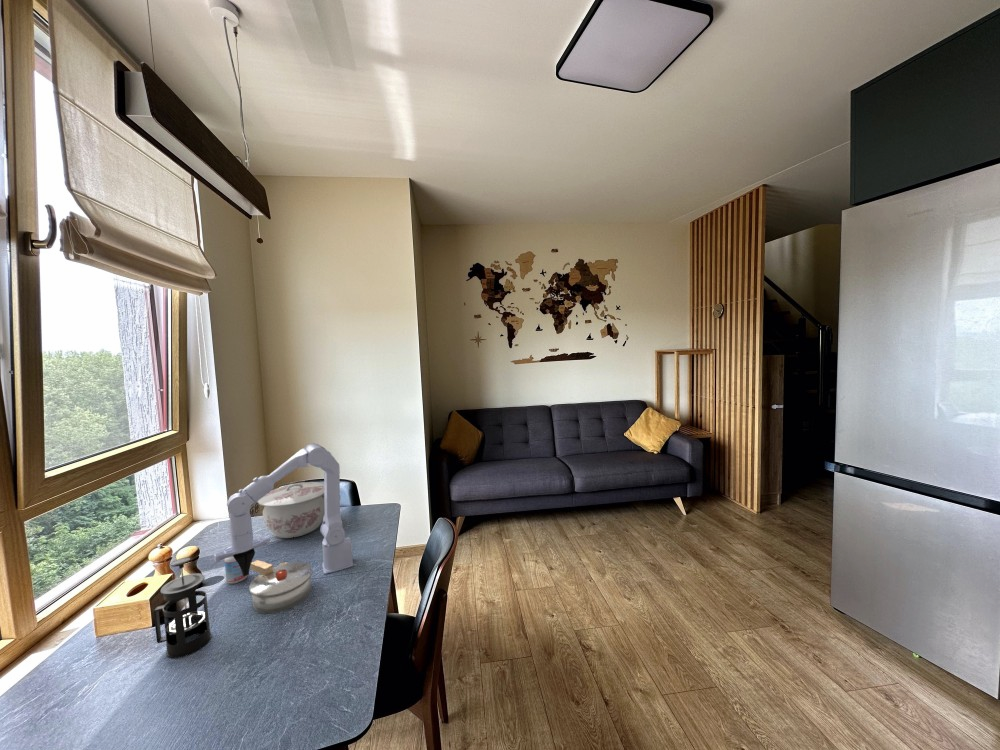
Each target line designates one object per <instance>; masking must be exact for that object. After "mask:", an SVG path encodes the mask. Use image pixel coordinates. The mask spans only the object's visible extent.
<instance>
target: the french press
mask: <svg viewBox="0 0 1000 750" xmlns="http://www.w3.org/2000/svg"><path fill="white" fill-rule="evenodd" d="M191 560H192V557H187V556H186V557H182V558H178V559H175V560H173V561H172V562H171V563H170V567H178V569H180V574H181V576H180V577H176V578H175V579H171V581H169V582H167V583H165V584H164V585H163V586H162V587H161V589H160V593H161V595H163V599H164V601H167V602H166V603H165V604H162V605H159V606H156V607H155V609H154V610H153V618H154V619H153V620H154V627H155V628H154V629H155V636H156V637H155V638H156V643H157V644H160V643H165V642H166V643H165V644H166V652H165V653H166V657H167V658H169V659H180V658H184V657H188V656H191V655H192V654H194V653H196V652H198V651H200V650H202V649H203V648H204V647H205V646H206V645H208V643H210V641H211V640H212V632H211V625H210V618H209V616H210V615H209V607H208V600H207V599H208V598H207V596H208V595H207V592H206V591H204V590H197V589H198V587H199V586H200V585H201V583H203V582H204V581H205V575H204V573H197V572H196V573H189V574H186V575H184V571H183V570H184V569H183V568H184V565H187V564H188V563H189V562H191ZM198 596H200V597H201V596H202V597H203V598H202V599H201V600H200V601H198V602H197V597H198ZM187 599H188V600H187ZM181 600H183V601H184V602H183V603H184V609H180V610H176V611H168V609H169V608H170V607H171V606H172V605H174V604H175V603H177V602H180V601H181ZM186 600H187V601H188V606H187V601H186ZM202 606H203V609H204V610H198V609H199V608H202ZM159 611H162V615H163V621H164V631H165V636H163V637H162V632H161V622H160V614H159V613H160V612H159ZM169 618H170V619H171V618H174V620H172V621H171V622H170V621H169ZM169 622H170V623H169ZM195 635H196V636H197V635H198V636H197V637H195V638H194V639H191V640H188V641H186V638H189V637H192V636H195Z"/></svg>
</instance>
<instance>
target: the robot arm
mask: <svg viewBox="0 0 1000 750" xmlns="http://www.w3.org/2000/svg"><path fill="white" fill-rule="evenodd" d="M309 465H310V466H311V467H312V466H313V467H315V468H318V469H321V470H322V471H323V479H324V480H323V483H324V503H325V515H324V517H323V521H322V522H321V524H320V527H319V528H320V529H319V530H320V534H321V535H322V536H323V539H322V542H321V545H322V546H321V547H322V558H323V562H322V563H321V565H322V571H323V575H327V574H330V573H334V572H337V571H341V570H344V569H348V568H352V567H353V566H354V560H353V557H354V556H353V551H352V549H353V548H352V540H351V537H350V536H348V537H346V531H345V529H344V528H343V521H342V517H341V494H340V493H341V490H340V489H341V485H340V484H341V482H340V481H341V480H340V477H341V476H340V473H341V471H340V468H341V467H340V463H339V462H338V461H337V459H336V458H335V457H334V456H333V454H332V453H331V452H330V451H328V450H327V449H326V448H325V447H324V446H322V445H320V444H318V443H314V442H313V443H310V444H307V445H306V446H305V447H304V448H301V449H300V450H298V451H297V452H296V453H295V454H294V455H291V457H290V458H289V459H287V460H286V461H285V462H283V463H282V464H280V465H279V466H278V467H277V468H276V469H274V470H273V471H272V472H270V473H269V474H268V475H261V476H259V477H258V476H256V477H254V478H253V479H252V482H251V483H249V484H248V485H247V486H245V487H244V488H240V489H239V490H238V492H236V493H233V494H231V495H230V497H228V500H227V503H226V506H227V511H228V513H229V514H228V519H229V520H228V522H229V523H228V524H229V533H230V534H229V535H230V543H231V546H232V547H230V546H229V547H230V548H228V547H227V548H228V549H227V548H226V549H224V550H222V551H219V552H217V553H214V554H213V558H214V559H213V560H214V562H215V563H220V562H221V561H223V560H225V558H228V557H231V556H233V557H234V558H235V560H236V561H237V562H238V564H239V566H240V568H241V571H242V575H243V576H246V575H248V576H249V575H250V570H251V569H250V565H251V563H252V562H253V559H254V557H255V554H256V550H255V549H256V548H260V547H262V546H263V547H264V546H265V545H266V546H267V545H271V539H270V537H269V536H268V535H267V536H264V537H260V538H256V539H255V538H254V534H253V533H254V531H253V525H252V515H251V513H250V510H251V508H252V505H254V504H256V503H258V500H260V499H261V498H262V497H264V496H265V495H266V494H268V493H269V492H270V491H272V490H274V489H275V488H274V487H275V483H277V482H279V481H280V480H282V479H284V478H285V477H286V476H288V475H289V474H290V473H292V472H293V471H295V470H296V469H299V468H308V467H309Z"/></svg>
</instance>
